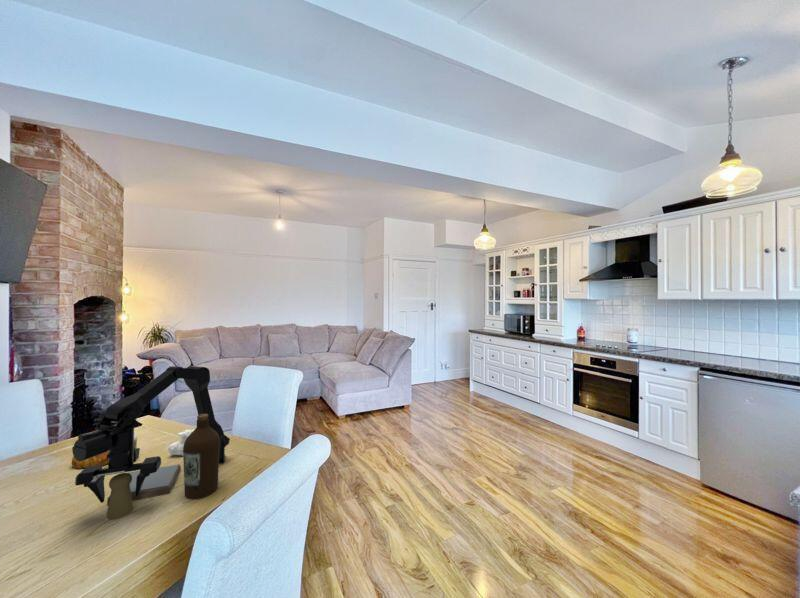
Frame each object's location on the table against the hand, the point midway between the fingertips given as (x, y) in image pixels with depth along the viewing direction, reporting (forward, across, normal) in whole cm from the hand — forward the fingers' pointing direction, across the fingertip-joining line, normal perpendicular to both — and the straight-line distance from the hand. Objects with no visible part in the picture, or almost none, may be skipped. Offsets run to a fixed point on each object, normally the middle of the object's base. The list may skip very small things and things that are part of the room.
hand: (120, 498), depth 96 cm
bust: (+4, -10, -37) cm, 39 cm away
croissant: (+4, +20, -43) cm, 48 cm away
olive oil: (+4, -20, -4) cm, 21 cm away
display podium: (+4, -3, -14) cm, 15 cm away
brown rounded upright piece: (+4, 0, 0) cm, 4 cm away
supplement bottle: (+4, +10, -37) cm, 39 cm away
